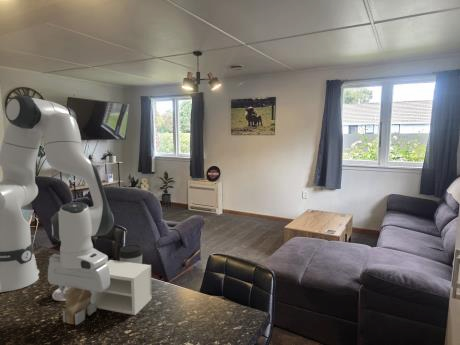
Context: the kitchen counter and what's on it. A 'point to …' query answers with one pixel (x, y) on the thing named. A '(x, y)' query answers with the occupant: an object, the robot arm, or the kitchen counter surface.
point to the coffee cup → (131, 254)
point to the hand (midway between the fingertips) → (79, 300)
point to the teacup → (58, 295)
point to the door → (76, 302)
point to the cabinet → (122, 290)
